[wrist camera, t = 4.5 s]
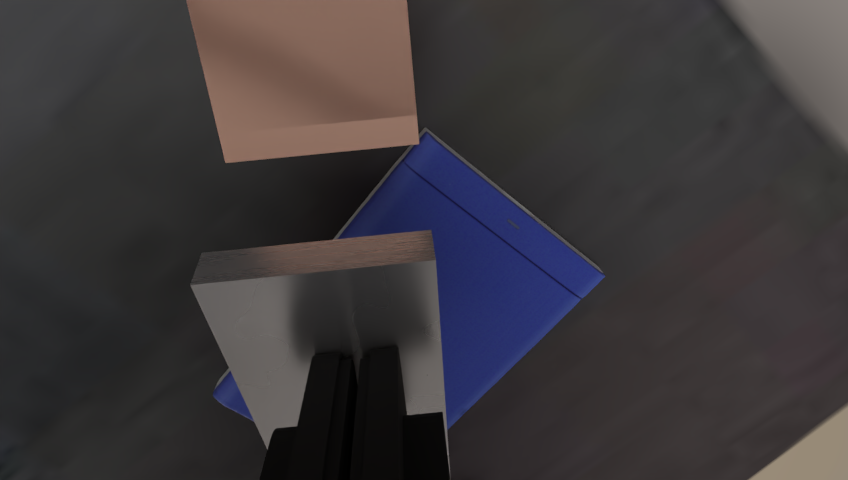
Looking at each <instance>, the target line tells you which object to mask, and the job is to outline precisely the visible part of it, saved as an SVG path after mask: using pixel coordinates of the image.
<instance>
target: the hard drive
mask: <svg viewBox="0 0 848 480" xmlns="http://www.w3.org/2000/svg"><path fill="white" fill-rule="evenodd" d="M424 230H431V231H432V237H433V244H434V251H435V257H436V269H437V284H438V300H439V315H440V330H441V345H442V360H443V375H444V390H445V405H446V420H447V430H448V429H449V428H450V427H451V426H452V425H453V424H454V423H455V422H456V421H457V420H458V419H459V418H460V417H462V415H463V414H464V413H465V412H467V411H468V410H469V409H470V408H471V407H472V406H473V405H474V404H475V403H476V402H477V401H478V400H479V399H480V398H481V397H482V396H483V395H484V394H485V393H486V392H487V391H488V390H489V389H490V388H491V387H492V386H493V385H494V384H495V383H497V382H498V381H499V380H500V379H501V378H502V377H503V376H504V375H505V374H506V373H507V372H508V371H509V370H510V369H511V368H512V367H513V366H514V365H515V364H516V363H517V362H518V361H519V360H520V359H521V358H522V357H523V356H524V355H525V354H526V353H527V352H528V351H529V350H531V349H532V348H533V347H534V346H535V345H536V344H537V343H538V342H539V341H540V340H541V339H542V338H543V337H544V336H545V335H546V334H547V333H548V332H549V331H550V330H551V329H552V328H553V327H554V326H555V325H556V324H557V323H558V322H559V321H560V320H561V319H562V318H563V317H564V316H565V315H566V314H567V313H568V312H569V311H570V310H571V309H572V308H573V307H574V306H575V305H576V304H577V303H578V302H579V301H580V300H581V299H582V298H583V297H585V296H586V295H587V294H588V293H589V292H590V291H591V290H592V289H593V288H594V287H595V286H596V285H597V284H598V283H599V282H600V281H601V280H602V279H603V278H604V277H605V275H604V274H603V272H602V271H601V270H600V268H599V267H598V266H597V265H596V264H595V263H593V262H592V261H591V260H590V259H588V258H587V257H586V256H584V255H583V254H582V253H581V252H579V251H578V250H577V249H576V248H574V247H573V246H572V245H571V244H569V243H568V242H567V241H566V240H564V239H563V238H562V237H561V236H560V235H558V234H557V233H556V232H555V231H553V230H552V229H551V228H550V227H548V226H547V225H546V224H545V223H543V222H542V221H541V220H540V219H538V218H537V217H536V216H535V215H533V214H532V213H531V212H530V211H529V210H527V209H526V208H525V207H524V206H522V205H521V204H520V203H519V202H517V201H516V200H515V199H514V198H512V197H511V196H510V195H509V194H507V193H506V192H505V191H503V190H502V189H501V188H500V187H499V186H497V185H496V184H495V183H494V182H492V181H491V180H490V179H489V178H487V177H486V176H485V175H484V174H483V173H481V172H480V171H479V170H478V169H476V168H475V167H474V166H473V165H471V164H470V163H469V162H468V161H466V160H465V159H464V158H463V157H462V156H460V155H459V154H458V153H457V152H455V151H454V150H453V149H452V148H450V147H449V146H448V145H447V144H446V143H444V142H443V141H442V140H441V139H439V138H438V137H437V136H436V135H434V134H433V133H432V132H431V131H430V130H428V129H427V128H424V129H423V130H422V131H421V132H420V133H419V144H416V145H410V146H409V147H408V148H407V149H406V151H405V152H404V153H403V154H402V156H401V157H400V158H399V159H398V160H397V161H396V163H395V164H394V165H393V166H392V167H391V169H390V170H389V171H388V172H387V174H386V175H385V176H384V177H383V178H382V180H381V181H380V182H379V183H378V185H377V186H376V187H375V188H374V189H373V191H372V192H371V193H370V194H369V196H368V197H367V198H366V199H365V200H364V202H363V203H362V204H361V205H360V207H359V208H358V209H357V210H356V212H355V213H354V214H353V215H352V216H351V218H350V219H349V220H348V221H347V223H346V224H345V225H344V226H343V228H342V229H341V230H340V231H339V232H338V234H337V235H336V236H335V237H334V239H333V240H335V239H345V238H354V237H364V236H374V235H384V234H394V233H404V232H414V231H424ZM213 397H214V398H215V399H216V400H217V401H218V402H220V403H221V404H222V405H224V406H225V407H227V408H229V409H231V410H233V411H235V412H237V413H239V414H241V415H243V416H244V417H246V418H248V419H250V420H252V421H254V420H253V418H252V416H251V414H250V411H249V409H248V407H247V405H246V403H245V401H244V399H243V397H242V394H241V392H240V390H239V388H238V386H237V384H236V382H235V380H234V377H233V375H232V373H231V371H230V369H229V368H228V369H227V371H226V372H225V373H224V374H223V375H222V377H221V378H220V379H219V380H218V382H217V384H216V387H215V389H214V392H213Z"/></svg>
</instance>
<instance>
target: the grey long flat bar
mask: <svg viewBox="0 0 848 480" xmlns="http://www.w3.org/2000/svg"><path fill="white" fill-rule="evenodd" d="M190 286H191V288H192V290H193V292H194V294H195V297H196V299H197V301H198V303H199V305H200V307H201V309H202V311H203V314H204V316H205V318H206V320H207V322H208V324H209V326H210V328H211V331H212V333H213V335H214V337H215V339H216V341H217V343H218V345H219V348H220V350H221V352H222V354H223V356H224V358H225V360H226V362H227V365H228V367H229V369H230V371H231V373H232V375H233V377H234V380H235V382H236V384H237V386H238V388H239V390H240V392H241V394H242V397H243V399H244V401H245V403H246V405H247V407H248V409H249V411H250V414H251V416H252V418H253V420H254V422H255V424H256V426H257V428H258V431H259V433H260V435H261V437H262V439H263V441H264V443H265V445H266V448H267V450H268V446H269V442H270V439H271V436H272V433H273V431H274V430H275V429H276V428H284V427H294V426H297V424H298V420H299V415H300V410H301V406H302V401H303V397H304V392H305V387H306V383H307V378H308V373H309V369H310V364H311V360H312V357H313V356H314V355H322V354H332V353H342V356H343V360H347V359H353V362H354V366H355V372H356V378H357V384H358V377H359V366H360V359H361V358H367V357H370V351H371V350H372V349H382V348H393V347H398V348H399V355H400V362H401V370H402V378H403V386H404V394H405V402H406V409H407V415H414V414H424V413H434V412H443V420H444V428H445V437H446V446H447V455H448V464H449V450H448V435H447V420H446V405H445V390H444V375H443V360H442V345H441V330H440V315H439V300H438V284H437V269H436V257H435V251H434V244H433V237H432V231H431V230H424V231H414V232H404V233H394V234H384V235H374V236H364V237H354V238H345V239H335V240H325V241H315V242H305V243H295V244H285V245H275V246H265V247H256V248H246V249H236V250H226V251H216V252H206V253H201V256H200V259H199V262H198V264H197V267H196V270H195V273H194V276H193V278H192V281H191V284H190ZM449 473H450V465H449Z"/></svg>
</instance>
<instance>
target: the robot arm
mask: <svg viewBox="0 0 848 480" xmlns="http://www.w3.org/2000/svg"><path fill="white" fill-rule="evenodd" d="M260 480H450V473H449V464H448V455H447V446H446V437H445V428H444V420H443V412H434V413H424V414H414V415H407V409H406V402H405V394H404V386H403V378H402V370H401V362H400V355H399V348H398V347H393V348H382V349H372V350H371V351H370V357H367V358H361V359H360V366H359V377H358V384H357V378H356V372H355V366H354V362H353V359H347V360H343V356H342V353H332V354H322V355H314V356H313V357H312V360H311V364H310V369H309V373H308V378H307V383H306V387H305V392H304V397H303V401H302V406H301V410H300V415H299V420H298V424H297V426H294V427H284V428H276V429H275V430H274V431H273V433H272V436H271V439H270V442H269V446H268V450H267V454H266V457H265V461H264V465H263V469H262V472H261V476H260Z"/></svg>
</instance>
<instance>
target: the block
mask: <svg viewBox="0 0 848 480" xmlns="http://www.w3.org/2000/svg"><path fill="white" fill-rule="evenodd" d="M186 1H187V5H188V9H189V14H190V18H191V22H192V26H193V30H194V34H195V39H196V43H197V47H198V51H199V55H200V59H201V63H202V68H203V72H204V76H205V80H206V84H207V88H208V92H209V97H210V101H211V105H212V109H213V113H214V117H215V122H216V126H217V130H218V134H219V138H220V142H221V146H222V151H223V155H224V159H225V163H231V162H242V161H252V160H262V159H272V158H283V157H293V156H303V155H313V154H324V153H334V152H344V151H354V150H365V149H375V148H385V147H395V146H406V145H416V144H419V134H418V122H417V111H416V100H415V88H414V77H413V66H412V54H411V43H410V31H409V20H408V9H407V0H186Z"/></svg>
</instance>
